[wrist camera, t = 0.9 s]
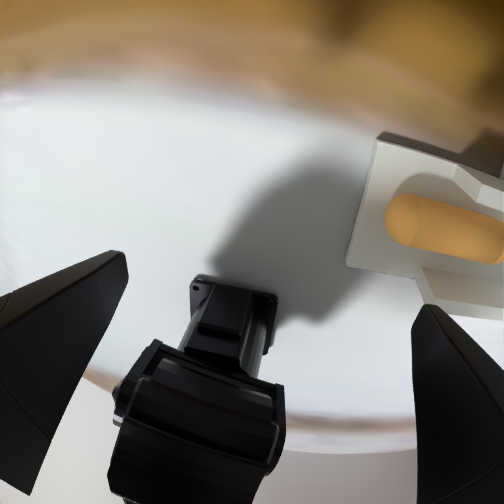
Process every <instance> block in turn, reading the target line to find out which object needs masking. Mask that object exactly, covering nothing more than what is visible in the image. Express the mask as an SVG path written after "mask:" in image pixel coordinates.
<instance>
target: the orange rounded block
mask: <svg viewBox="0 0 504 504" xmlns="http://www.w3.org/2000/svg"><path fill="white" fill-rule="evenodd" d="M384 220H385V227H386V229H387V232H388V234H389V235H390V236H391V238H392V239H393V240H395V241H396V242H397V243H399V244H401V245H405V246H409V247H414V248H419V249H423V250H428V251H432V252H437V253H441V254H446V255H450V256H455V257H459V258H463V259H468V260H472V261H476V262H480V263H485V264H489V265H494V264H498V263H500V262H502V261H503V260H504V223H503V222H501V221H499V220H497V219H495V218H492V217H489V216H486V215H482V214H479V213H476V212H473V211H470V210H467V209H463V208H460V207H457V206H454V205H450V204H447V203H443V202H440V201H436V200H433V199H429V198H425V197H422V196H418V195H414V194H403V195H400V196H398V197H396V198H395V199H393V200H392V201H391V202H390V204H389V205H388V207H387V209H386V212H385V219H384Z"/></svg>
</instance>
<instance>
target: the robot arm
mask: <svg viewBox="0 0 504 504" xmlns="http://www.w3.org/2000/svg"><path fill="white" fill-rule="evenodd" d="M128 279H129V275H128V269H127V262H126V257H125V254H124V253H123V252H120V251H115V250H109V251H107V252H104V253H102V254H99V255H97V256H94V257H92V258H89V259H87V260H84V261H82V262H80V263H77V264H75V265H72V266H70V267H68V268H65V269H63V270H60V271H58V272H56V273H53V274H51V275H49V276H46V277H44V278H42V279H39V280H37V281H35V282H33V283H30V284H28V285H26V286H23V287H21V288H19V289H17V290H15V291H13V292H12V293H8V294H6V295H4V296H1V297H0V479H1V480H3V481H5V482H6V483H8V484H10V485H11V486H13V487H15V488H16V489H18V490H20V491H21V492H23V493H25V494H27V495H29V496H30V494H31V492H32V489H33V487H34V484H35V481H36V479H37V476H38V473H39V471H40V468H41V466H42V463H43V460H44V458H45V456H46V453H47V451H48V449H49V446H50V444H51V440H52V439H53V437H54V434H55V432H56V430H57V427H58V425H59V423H60V421H61V419H62V416H63V414H64V412H65V410H66V408H67V405H68V403H69V401H70V399H71V397H72V395H73V393H74V391H75V389H76V387H77V385H78V383H79V381H80V379H81V377H82V375H83V373H84V371H85V369H86V367H87V365H88V363H89V361H90V359H91V358H92V356H93V354H94V352H95V350H96V348H97V346H98V344H99V343H100V341H101V339H102V337H103V335H104V333H105V332H106V330H107V328H108V326H109V324H110V322H111V320H112V317H113V315H114V313H115V310H116V308H117V306H118V304H119V301H120V299H121V297H122V295H123V292H124V290H125V288H126V286H127V283H128ZM196 286H198V287H199V288H197V287H196ZM189 288H190V312H191V321H190V323H189V325H188V327H187V329H186V332H185V334H184V336H183V338H182V340H181V342H180V345H179V347H178V349H175V348H173V347H170V346H168V345H165V344H163V342H162V341H159V340H157V339H154V340H153V342H152V343H151V345H150V346H149V347H148V346H147V347H146V348H145V350H144V351H143V352H142V354H141V355H140V357H139V358H138V360H137V361H136V363H135V364H134V365H133V367H132V368H131V370H130V371H129V373H128V374H127V375H126V376H125V377H124V378H123V379H122V380H121V381H120V382H119V383H118V384H117V385H116V386H115V388H114V389H113V392H112V396H113V399H114V402H115V408H114V415H113V423H114V425H116V426H118V427H120V430H119V434H118V437H117V441H116V444H115V447H114V450H113V454H112V457H111V462H110V467H109V470H108V473H107V478H108V482H109V487H110V490H111V492H112V493H113V494H115V495H117V496H120V497H122V498H123V500H124V502H125V504H252V502H253V499H254V496H255V494H256V492H257V490H258V487H259V485H260V483H261V481H262V479H263V478H264V476H268V475H269V474H270V473H271V472H272V471H273V470H274V468H275V467H276V465H277V463H278V461H279V459H280V456H281V454H282V451H283V447H284V443H285V437H286V416H285V395H284V385H280V384H277V383H276V384H272V383H269V382H266V381H263V380H260V379H257V377H258V372H259V368H260V363H261V358H262V355H266V354H267V353H268V349H269V344H270V340H271V335H272V330H273V326H274V321H275V316H276V311H277V306H278V297H277V296H276V295H273V294H269V293H263V292H258V291H253V290H247V289H242V288H237V287H232V286H227V285H222V284H217V283H212V282H207V281H202V280H193V281H192V282H191V284H190V287H189ZM269 300H272V301H274V302H269ZM411 345H412V380H413V391H414V402H415V415H416V431H417V465H418V466H417V468H418V470H417V471H418V472H417V477H418V478H417V504H504V370H503V369H502V368H501V367H500V366H499V365H498V364H497V363H496V362H495V361H494V360H493V359H492V358H491V357H490V356H489V355H488V354H487V353H486V352H485V351H484V350H483V349H482V348H481V347H480V346H479V345H478V344H477V343H476V342H475V341H474V340H473V339H472V338H471V337H470V336H469V335H468V334H467V333H466V332H465V331H464V330H463V329H462V328H461V327H460V326H459V325H458V324H457V323H456V322H455V321H454V320H453V319H452V318H451V317H450V316H449V315H448V314H447V313H445V312H444V311H443V310H442V309H441V308H440V307H439V306H438V305H434V304H424V305H423V306H422V308H421V309H420V311H419V313H418V315H417V317H416V319H415V321H414V323H413V325H412V328H411Z"/></svg>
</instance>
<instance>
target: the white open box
mask: <svg viewBox="0 0 504 504" xmlns="http://www.w3.org/2000/svg"><path fill="white" fill-rule="evenodd" d="M403 194H414V195H418V196H422V197H425V198H429V199H433V200H436V201H440V202H443V203H447V204H450V205H454V206H457V207H460V208H463V209H467V210H470V211H473V212H476V213H479V214H482V215H486V216H489V217H492V218H495V219H497V220H499V221H501V222H503V223H504V164H503V167H502V170H501V174H500V177H499V178H496V177H494V176H491V175H489V174H486V173H484V172H481V171H479V170H476V169H473V168H471V167H468V166H465V165H462V164H460V163H457V162H454V161H451V160H448V159H445V158H442V157H439V156H436V155H433V154H430V153H426V152H423V151H420V150H416V149H413V148H410V147H406V146H402V145H399V144H395V143H391V142H388V141H384V140H380V139H376V140H375V145H374V150H373V154H372V159H371V163H370V167H369V172H368V176H367V180H366V184H365V188H364V192H363V196H362V200H361V204H360V208H359V212H358V215H357V219H356V223H355V226H354V230H353V234H352V237H351V241H350V244H349V247H348V251H347V254H346V258H345V264H346V266H347V267H352V268H358V269H364V270H369V271H375V272H380V273H386V274H391V275H397V276H402V277H408V278H413V279H416V282H417V284H418V287H419V289H420V292H421V295H422V297H423V300H424V303H425V304H434V305H438V306H439V307H440V308H441V309H442V310H443V311H444V312H445V313H447V314H451V315H459V316H467V317H474V318H482V319H490V320H498V321H504V260H503V261H502V262H500V263H498V264H494V265H489V264H485V263H480V262H476V261H472V260H468V259H463V258H459V257H455V256H450V255H446V254H441V253H437V252H432V251H428V250H423V249H419V248H414V247H409V246H405V245H401V244H399V243H397V242H396V241H395V240H393V239H392V238H391V236H390V235H389V234H388V232H387V229H386V227H385V220H384V219H385V212H386V209H387V207H388V205H389V204H390V202H391V201H392V200H393V199H395V198H396V197H398V196H400V195H403Z"/></svg>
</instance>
